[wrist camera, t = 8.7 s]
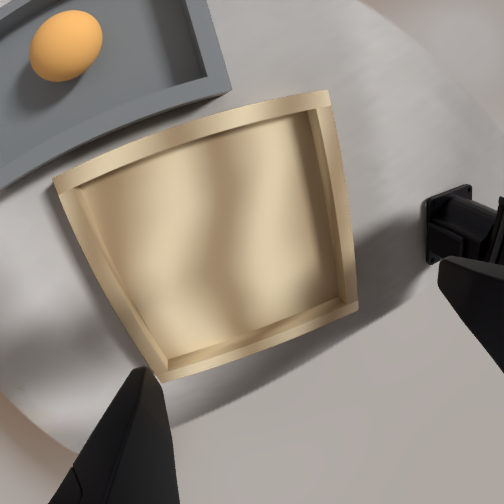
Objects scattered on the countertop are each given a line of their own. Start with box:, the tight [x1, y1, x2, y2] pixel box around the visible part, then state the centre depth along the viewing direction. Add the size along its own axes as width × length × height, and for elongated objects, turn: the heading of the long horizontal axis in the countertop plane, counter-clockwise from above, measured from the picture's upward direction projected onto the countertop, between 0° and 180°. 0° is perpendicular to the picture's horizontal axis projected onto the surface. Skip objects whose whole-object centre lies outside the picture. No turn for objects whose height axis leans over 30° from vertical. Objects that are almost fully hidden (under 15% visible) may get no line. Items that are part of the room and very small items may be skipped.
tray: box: [0, 0, 232, 191], centre depth 11 cm, size 15×11×2 cm
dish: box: [52, 90, 359, 383], centre depth 19 cm, size 16×16×2 cm
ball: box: [29, 10, 102, 82], centre depth 10 cm, size 4×4×4 cm
